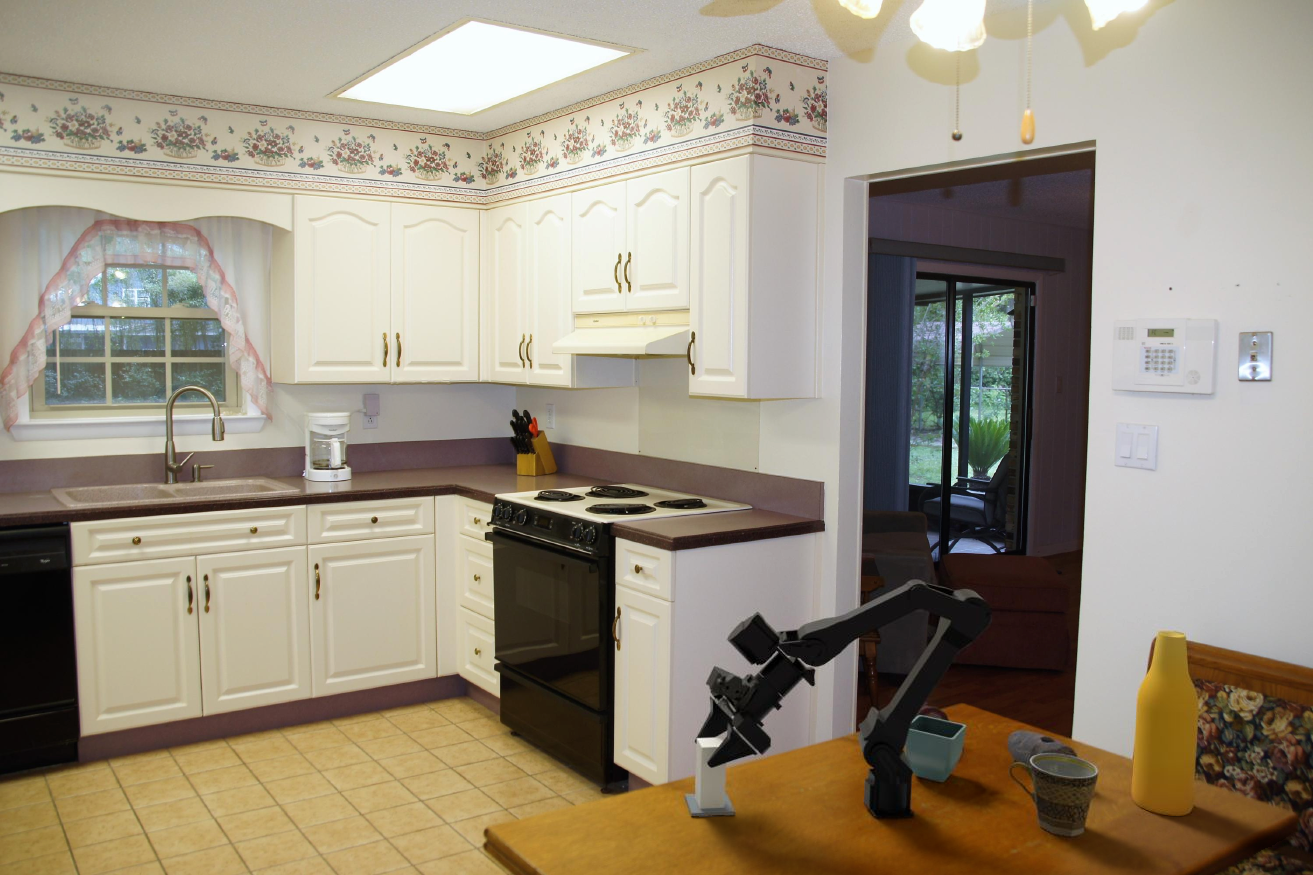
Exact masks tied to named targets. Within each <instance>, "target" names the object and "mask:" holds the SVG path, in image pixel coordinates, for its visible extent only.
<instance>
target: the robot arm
mask: <svg viewBox="0 0 1313 875" xmlns="http://www.w3.org/2000/svg"><path fill="white" fill-rule="evenodd" d="M990 606H991V605H989V603H988V602H987V601H986V600H985V599H984V598H982V596H980V595H979V594H978V593H977V592H976V591H974V590H973V589H970V588H969V589H968V588H961V589H957V590H953V589H950V588H949V587H948V588H947V587H944V586H941V585H940V586H939V585H935V584H931V583H927V582H925V581H923V580H920V579H915V578H914V579H910V580H908V581H907V582H906V583H905V584H904V585H901V586H900V587H897V588H896V589H893V590H892V591H889V592H887V593H885V594H883V595H881V596H879V597H877V598H875V599H873V600H870V601H868V602H867V603H865V604H863V605H861V606H859V607H857V608H854V609H852V610H851V611H849V612H847V613H844V614H841V615H839V616H837V615H836V616H833V617H826V618H821V619H817V620H813V621H811V622H807V623H805V624H803V625H801V626H800V627H799V628H798V629H789V630H780V631H776V630H775V629H774V628H773V627H772V626H771V625H770V624H769V623H768V622H767V621H766V619H765V617H764V616H763V615H762V614H761V613H760V612H759V611H757V612H755V613H754V614H753V615H751V616H749V617H747V618H746V619H745V620H742V621H741V622H740V623H738V625H736V626H735V628H734V629H732V631H731V632H730V634H729V635H728V636H727V639H726V641H727V642H728V643H729V644H731V645H732V647H733V648H735V650H737V652H738V653H739V654H740V655H741V656H742V657H743V659H745V660H746V661H747V662H748V664H750V665H752V666H753V665H755V664H756V666H757V667H758V666H762V665H763V667H762V668H761V669H760V670H759V671H758V672H757V673H756V674H755V675H753V674H752V673H750V674H749V673H748V674H746V675H745V676H744V677H743V678H742V677H741V676H739V675H736V674H734V673H733V672H730V671H728V670H725V669H723V668H721V667H718V666H716V665H714V666H713V668H712V669H711V672H710V674H709V676H708V678H707V680H706V682H705V685H707V686H708V687H709V690H710V691H709V693H710V694H711V695H710V696H709V703H710V704H709V705H710V710H709V713H708V715H707V717H706V718H705V721H704V722H703V725H702V726H701V729H700V731H699V732H698V734H697V736H696V738H695V739H694V743H695V744H696V745H697V738H718V737H719V736H720V735H722V734H724V733H725V732H727V733H726V737H725V738H724V739H722V740H723V742H722V743H721V744H720V746H719V747H718V748H717V749H716V751H715V752H714V753H713V755H712V756H711V757H710V759H709V760H708V762H707V765H708V766H709V767H710V768H714V767H716V766H719V765H722V764H725V763H726V764H727V763H730V762H732V761H736V760H739V759H743V758H746V757H750V756H752V755H754V756H758V753H759V754H760V755H762V756H763V755H764V754H765V753H766V752H767V751H768V750H769V749H770V748H771V747H772V745H771V744H772V739H771V736H770V735H769V734H768V732H767V731H766V729H764V728H763V727H764V726H765V724H764V722H763V720H764V718H766V717H767V716H768V715H769V714H770V713H771V712H772V711H773V709H775V710H776V711H779V710H781V708H782V707H783V705H782V704H781V702H782V700H784V698H786V697H787V695H788V694H789V693H790V692H792V690H793V689H794V688H795V687H797V686H798V684H799V683H800V682H801V681H802V680H804V681H805V682H806V683H808V685H809V686H811V687H815V686H816V681H815V680H816V679H815V674H816V669H815V668H816V667H817V668H818V667H821V666H825V665H826V664H827V663H828V662H830V661H831V660H833V659H834V658H836V657H837V656H838V655H840V654H841V653H842V652H843V651H845V650H846V648H847V647H848V646H849V645H850V644H852V643H853V642H854V641H856V640H857V639H859V638H862V637H864V636H866V635H868V634H871V633H872V632H874V631H876V630H878V629H880V628H882V627H884V626H887V625H888V624H890V623H893V622H895V621H897V620H899V619H901V618H903V617H904V616H907V615H910V614H911V613H913V612H915V611H917V610H922V611H927V612H929V613H931V614H933V615H935V616H938V617H940V618H939V621H938V626H937V629H936V633H935V634H934V637H932V639H931V641H930V642H929V643H928V646H927V647H926V648H925V649H924V651H923V653H922V654H921V656H920V657H919V659H918V660H917V662H916V663H915V665H914V666H913V668H912V669H911V671H910V672H909V674H908V675H907V677H906V678H905V680H904V681H903V682H902V684H901V686H900V687H899V688H898V689H897V690H898V691H897V692H896V693H895V694H894V696H893V698H892V699H891V701H890V702H889V703H888V704H887V706H885V707H884V708H882V709H881V710H877V708H876V707H874V706H872V707H870V709H869V712H868V713H867V716H866V717H865V719H864V720H863V721H862V722H860V723H859V724H858V728H859V730H860V731H859V733H858V742H859V747H860V749H861V752H862V755H863V759H864V760H865V762H866V763H867V765H868V766H869V767H871V768H868V772H867V775H868V777H866V778H865V780H864V797H863V804H865V806H866V807H867V809H868V810H869V811H870V812H871V814H872V815H873V816H874V817H875V818H876V819H890V818H893V819H894V818H896V819H897V818H914V817H915V813H914V811H913V810H912V809H911V808H912V784H913V783H912V782H913V774H914V773H913V771H912V768H911V766H910V764H909V761H908V759H907V757H906V751H905V750H904V748H905V744H906V740H907V736H908V732H909V729H910V725H911V723H912V721H913V720H914V718H915V717H916V715H917V714H918V712H919V711H920V709H921V708H922V706H923V705H924V703H925V702H926V703H927V700H928V699H929V698H930V696H931V694H932V693H933V691H934V689H936V687H937V685H938V684H939V682H941V680H942V678H943V677H944V676H945V674H946V672H947V670H948V669H949V668H950V666H951V665H952V663H953V662H954V660H955V659H956V657H957V656H958V654H959V653H960V652H961V651H962V650H963V649H965V648H966V647H968V646H969V645H971V644H972V643H974V642H975V641H977V639H978V638H979V637H980V636H981V635H982V634H983V633H984V632H985V631H986V630H987V629H988V627H989V626H990V625H991V624H992V621H993V612H992V608H991V607H990ZM764 664H765V665H764ZM807 665H808V666H810V667H808V666H807Z"/></svg>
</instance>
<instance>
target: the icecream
mask: <svg viewBox="0 0 1313 875" xmlns="http://www.w3.org/2000/svg"><path fill="white" fill-rule="evenodd" d="M919 715H923V716H928V717H932V718H937V719H941V720H946V721H950V720H949V718H948V715H947V713H946V712H945V711H944V710H942V709H940V708H939V707H936V706H930V704H929V703H928V702H927V701H926V702H925V703H924V705H923V706H922V708H921V709H920V711H919V712H918V714H917V715H916V717H917V716H919ZM916 717H915V718H916ZM915 718H914V719H915Z"/></svg>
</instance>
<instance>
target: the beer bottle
mask: <svg viewBox="0 0 1313 875" xmlns="http://www.w3.org/2000/svg"><path fill="white" fill-rule="evenodd" d="M1187 647H1188V646H1187V635H1185V634H1184V633H1181V632H1176V631H1171V630H1160V631H1157V633H1156V638H1155V644H1154V650H1153V654H1152V655H1153V656H1152V661H1151V665H1150V669H1149V670H1148V672H1147V673H1146V675H1145V676H1144V678H1143V680H1142V682H1141V684H1140V686H1139V689H1138V692H1137V697H1136V715H1135V726H1134V727H1135V728H1134V729H1135V731H1134V747H1133V765H1132V766H1133V768H1132V780H1131V798H1132V800H1133V802H1134V803H1135V804H1136V806H1138V807H1139V808H1142V809H1143V810H1146V811H1149V812H1151V813H1154V814H1158V815H1163V816H1170V817H1180V816H1186V815H1188V814H1190V813H1191V812H1192V810H1193V807H1194V800H1195V799H1194V798H1195V777H1196V776H1195V775H1196V761H1197V760H1196V759H1197V758H1196V756H1197V744H1198V743H1197V742H1198V727H1199V713H1200V712H1199V711H1200V709H1199V708H1200V704H1199V698H1198V697H1199V695H1198V694H1197V690H1196V688H1195V685H1194V683H1193V680H1192V679H1191V676H1190V673H1189V664H1188V649H1187Z"/></svg>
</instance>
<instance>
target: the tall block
mask: <svg viewBox="0 0 1313 875" xmlns="http://www.w3.org/2000/svg"><path fill="white" fill-rule="evenodd" d="M723 740H724V739H722V738H721V737H719V736H718V737H715V738H697V744H696V752H695V753H696V755H695V783H694V785H695V786H694V794H695V799H696V801H697V803H698V805H699V808H700V809H707V808H725V793H726V774H727V769H726V767H727V763H725V764H722V765H719V766H716V767H714V768H710V767H709V766H708V765H707V762H708V760H709V759H710V757H711V756H712V755H713V753H714V752H715V751H716V749H717V748H718V747H719V746H720V744H721V743H722V742H723Z"/></svg>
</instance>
